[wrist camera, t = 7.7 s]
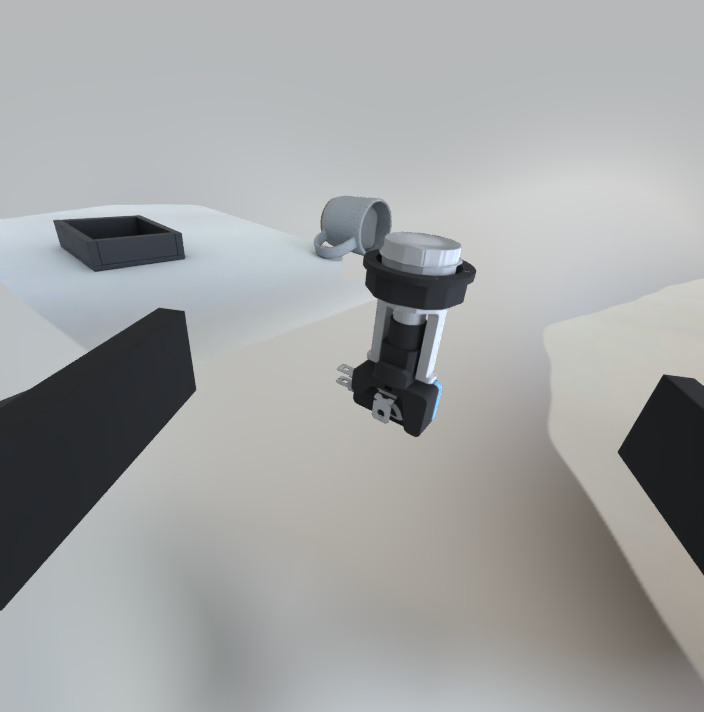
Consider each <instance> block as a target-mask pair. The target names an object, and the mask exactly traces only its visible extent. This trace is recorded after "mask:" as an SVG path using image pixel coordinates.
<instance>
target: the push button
mask: <svg viewBox="0 0 704 712" xmlns="http://www.w3.org/2000/svg"><path fill="white" fill-rule="evenodd" d="M460 252H461V244H460V243H458V242H456V241H454V240H451V239H448V238H444V237H440V236H436V235H430V234H423V233H412V232H396V233H389V234H387V235H386V236H385V239H384V247H382V248H381V249H375V250H371V251H369V252H367V253H365V254H364V259H363V265H364V267H365V268H366V269H367V273H366V282H365V285H366V287H367V288H368V289H369V291H370V292H371V293H372V294H373V296H374V297H376V298H378V302H377V310H376V317H375V325H374V333H373V340H372V348H371V350H369V351H368V353H367V359H368V360H367V361H365V362H364V363H362V364H361V365H359V366H358V367H356V368H352V367H350V366H348V365H345V364H342V365H341V366H339V367H338V368H337V370H338V371H341V372H343V373H345V374H347V375H349V377H350V378H352V380H351V379H348V378H347V377H344V376H341V377H340V378H338V379H337V380H336V382H337V383H339V384H341V385H343V386H345V387H348V390H350V391H352V392H354V395H353V399H354V401H355V402H356V403H357V404H359V405H361V406H363V407H365V408H367V409H369V410H371V411H372V416H373V417H374V418H375V419H377V420H380V421H381V422H383V423H388V422H389V420H391V421H393V422H396V423H398V424H400V425H402V426H404V430H405V431H406V432H407V433H408V434H410V435H412V436H414V437H418V436H419V435H420V434H421V433H422V432H423V431H424V429H425V428H426V427H427V426H428V425H429V424H430V422H431V421H432V420H433V419H434V417H435V415H436V411H437V407H438V403H439V399H440V395H441V391H442V384H441V382H439V381H438V380H436V376H437V373H436V372H435V371H433V368H434V365H435V360H436V356H437V351H438V347H439V343H440V339H441V334H442V330H443V326H444V322H445V317H446V313H447V308H450V307H452V306H455V305H458V304H461V303H462V302H463V301H464V296H465V292H466V289H467V285H468V284H470V283H472V282H473V281H474V278H475V274H476V269H475V268H474V267H473V266H472V265H471V264H469V263H468V262H466V261H463V260H461V259H460V257H459V256H460ZM393 312H394V314H393ZM426 314H428V320H426ZM344 368H348V369H349V370H348V371H346V370H343V369H344ZM343 380H346V381H348V382H347V383H344V382H342V381H343ZM380 415H381V416H380ZM382 416H383V417H382Z"/></svg>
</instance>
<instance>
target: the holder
mask: <svg viewBox="0 0 704 712" xmlns="http://www.w3.org/2000/svg"><path fill="white" fill-rule="evenodd" d="M53 222H54V225H55V228H56V232H57V235H58V238H59V242H60V245H61V247H63V248H64V249H66V250H67V251H68V252H70V253H71V254H72V255H74V256H75V257H76V258H78V259H79V260H80V261H82V262H83V263H84V264H86V265H87V266H88V267H90V268H91V269H92V270H94V271H100V270H108V269H115V268H122V267H129V266H136V265H143V264H150V263H157V262H164V261H171V260H178V259H185V255H184V247H183V240H182V233H180V232H178V231H175V230H173V229H171V228H168V227H166V226H164V225H161V224H159V223H157V222H154V221H152V220H150V219H147V218H145V217H143V216H140V215H137V216H120V217H103V218H85V219H68V220H53Z"/></svg>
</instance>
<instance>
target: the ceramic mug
mask: <svg viewBox="0 0 704 712" xmlns="http://www.w3.org/2000/svg"><path fill="white" fill-rule="evenodd" d="M391 220H392V219H391V211H390V208H389V206H388V204H387V203H386V202H385V201H384V200H383V199H380V198H366V197H365V198H364V197H352V196H340V197H336V198H333V199H331V200H330V201H329V202H328V203H327V204H326V206H325V208H324V210H323V212H322V216H321V231H322V232H321V233H319V234H318V235H317V236H316V238H315V239H314V246H315V249H316V252H317V253H318V254H319V255H320V256H321V257H325V258H335V257H340V256H343V255H345V254H347V253H348V252H353V253H356V254H359V255H363V256H364V254H365V253H367V252H369V251H371V250H375V249H381V248H382V247H384V239H385V236H386V235H387V234H389V233H390V232H391V223H392V221H391ZM325 241H327V242H328V243H329V244H330V245H332V246H334V247H331V248H323V247H320V246H321V245H322V244H323V242H325Z"/></svg>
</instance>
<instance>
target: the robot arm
mask: <svg viewBox="0 0 704 712" xmlns="http://www.w3.org/2000/svg"><path fill="white" fill-rule="evenodd" d="M195 391H196V385H195V378H194V372H193V365H192V358H191V352H190V345H189V338H188V332H187V325H186V318H185V312H184V311H179V310H172V309H164V308H158V309H156V310H155V311H153V312H152V313H150V314H148V315H147V316H145V317H144V318H142V319H141V320H139V321H137V322H136V323H134V324H133V325H131V326H129V327H128V328H126V329H125V330H123V331H121V332H120V333H118V334H117V335H115V336H114V337H112V338H110V339H109V340H107V341H106V342H104V343H102V344H101V345H99V346H98V347H96V348H94V349H93V350H91V351H90V352H88V353H87V354H85V355H83V356H82V357H80V358H79V359H77V360H75V361H74V362H72V363H71V364H69V365H68V366H66V367H65V368H63V369H61V370H60V371H58V372H56V373H55V374H53V375H52V376H50V377H48V378H47V379H45V380H44V381H42V382H41V383H39V384H37V385H36V386H34V387H33V388H31V389H29V390H27V391H25V392H22V393H19V394H17V395H14V396H12V397H9V398H7V399H4V400H2V401H0V610H2V609H3V608H4V607H5V606H6V605H7V604H8V603H9V602H10V600H11V599H12V598H13V597H14V596H15V595H16V594H17V592H18V591H19V590H20V589H21V588H22V587H23V586H24V585H25V583H26V582H27V581H28V580H29V579H30V578H31V577H32V575H33V574H34V573H35V572H36V571H37V570H38V569H39V568H40V566H41V565H42V564H43V563H44V562H45V561H46V560H47V559H48V557H49V556H50V555H51V554H52V553H53V552H54V551H55V549H56V548H57V547H58V546H59V545H60V544H61V543H62V542H63V540H64V539H65V538H66V537H67V536H68V535H69V534H70V532H71V531H72V530H73V529H74V528H75V527H76V526H77V525H78V523H79V522H80V521H81V520H82V519H83V518H84V517H85V515H86V514H87V513H88V512H89V511H90V510H91V509H92V507H93V506H94V505H95V504H96V503H97V502H98V501H99V500H100V498H101V497H102V496H103V495H104V494H105V493H106V492H107V490H108V489H109V488H110V487H111V486H112V485H113V484H114V483H115V481H116V480H117V479H118V478H119V477H120V476H121V475H122V474H123V472H124V471H125V470H126V469H127V468H128V467H129V466H130V465H131V463H132V462H133V461H134V460H135V459H136V458H137V457H138V455H139V454H140V453H141V452H142V451H143V450H144V449H145V447H146V446H147V445H148V444H149V443H150V442H151V441H152V440H153V438H154V437H155V436H156V435H157V434H158V433H159V432H160V431H161V429H162V428H163V427H164V426H165V425H166V424H167V423H168V421H169V420H170V419H171V418H172V417H173V416H174V415H175V413H176V412H177V411H178V410H179V409H180V408H181V407H182V406H183V405H184V403H185V402H186V401H187V400H188V399H189V398H190V397H191V395H192V394H193V393H194V392H195ZM618 454H619V455H620V457H621V458H622V459H623V461H624V462H625V464H626V465H627V467H628V468H629V469H630V471H631V472H632V474H633V475H634V476H635V478H636V479H637V481H638V482H639V484H640V485H641V486H642V488H643V489H644V491H645V492H646V494H647V495H648V496H649V498H650V499H651V501H652V502H653V504H654V505H655V506H656V508H657V509H658V511H659V512H660V514H661V515H662V516H663V518H664V519H665V521H666V522H667V524H668V525H669V526H670V528H671V529H672V531H673V532H674V534H675V535H676V536H677V538H678V539H679V541H680V542H681V544H682V545H683V546H684V548H685V549H686V551H687V552H688V554H689V555H690V556H691V558H692V559H693V561H694V562H695V563H696V565H697V566H698V568H699V569H700V571H701V572H702V573H703V575H704V386H703V385H702V384H700V383H699V382H698V381H697V380H695V379H694V378H686V377H679V376H671V375H664V374H663V376H662V378H661V379H660V381H659V383H658V384H657V386H656V388H655V390H654V391H653V393H652V395H651V396H650V398H649V400H648V401H647V403H646V405H645V406H644V408H643V410H642V412H641V413H640V415H639V417H638V418H637V420H636V422H635V423H634V425H633V427H632V429H631V430H630V432H629V434H628V435H627V437H626V439H625V440H624V442H623V444H622V446H621V447H620V449H619V451H618Z"/></svg>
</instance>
